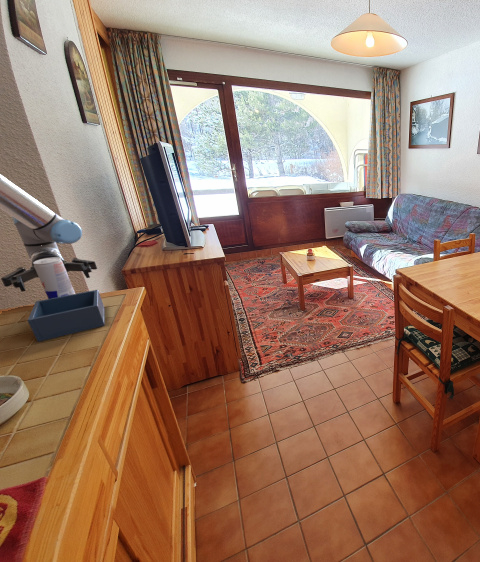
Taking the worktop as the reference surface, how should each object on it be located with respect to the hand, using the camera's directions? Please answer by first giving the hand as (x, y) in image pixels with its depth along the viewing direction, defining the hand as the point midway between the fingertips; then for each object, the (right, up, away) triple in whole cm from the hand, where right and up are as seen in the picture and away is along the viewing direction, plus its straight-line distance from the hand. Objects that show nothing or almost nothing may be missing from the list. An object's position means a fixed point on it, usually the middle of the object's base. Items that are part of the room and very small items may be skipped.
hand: (55, 280), depth 89 cm
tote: (+11, -12, -5) cm, 17 cm away
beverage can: (+1, -8, +2) cm, 9 cm away
